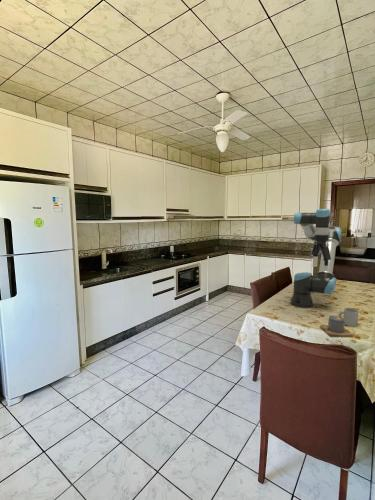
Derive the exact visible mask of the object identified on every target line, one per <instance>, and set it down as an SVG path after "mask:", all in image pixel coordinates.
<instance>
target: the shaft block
mask: <svg viewBox="0 0 375 500" xmlns="http://www.w3.org/2000/svg"><path fill="white" fill-rule="evenodd" d="M319 328H320V329H321V330H322V331H323V332H324V333H325V334H326V335H328V337H329V338H354V334H353V333H352V332H350V331H349V330H348V329H346V328H345V327H344V332H343V333H335V332H332V331H330V330H329V329H328V325H324V324H323V325H321V324H320V325H319Z"/></svg>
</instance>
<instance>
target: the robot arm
mask: <svg viewBox="0 0 375 500" xmlns="http://www.w3.org/2000/svg"><path fill="white" fill-rule="evenodd" d="M332 219H333V216H332V214H331V210H330V209H329V208H318V209H316V211H315V212H296V213H294V215H293V223H294V224H295V225H300V227H301V229H302V230H303V234H304V235H305V237H307V238H308V239H309V240H311V241H314V242H313V247H312V250H311V256H312V267H313V268H315V267H318V260H319V259H318V258H319V253H320V252H321V255H320V262H319V268H318V269H319V270H318V271H317V272H316V274H315V275H313V273H312V272H306V271H305V272H298V273H295V274H294V277H293V293H292V296H291V298H290V302H289V303H290V304H291V305H292V306H294V307H297V308H312V307H314V301H313V298H312V293H317V294H324V295H333V294H334V292H335V290H336V287H337V280H338V279H337V278H336V277H335V274H333V272H334V266H335V265H334V264H335V258H336V249H337V246H339V244H340V243H342V229H341V227H339V226H330V223H331V222H332Z"/></svg>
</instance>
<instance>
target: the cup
mask: <svg viewBox="0 0 375 500" xmlns="http://www.w3.org/2000/svg"><path fill="white" fill-rule="evenodd" d="M342 314H343V318H344V321H345V325H344V326H346V325H347V327H350V326H352V327H351V328H356V327H357V326H358V324H359V323H358V322H359V310H358V309H356V308H351V307H345V308H344V309H343V310H339V312H338V314H337V316H340V317H342ZM355 326H356V327H355Z"/></svg>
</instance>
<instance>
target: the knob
mask: <svg viewBox="0 0 375 500" xmlns="http://www.w3.org/2000/svg"><path fill="white" fill-rule="evenodd" d="M327 324H328V329H329V330H330V331H332V332H335V333H343V332H344V328H345V326H346V325H345V321H344V317H342V316H341V317H340V316H338V315H329V318H328V323H327Z"/></svg>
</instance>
